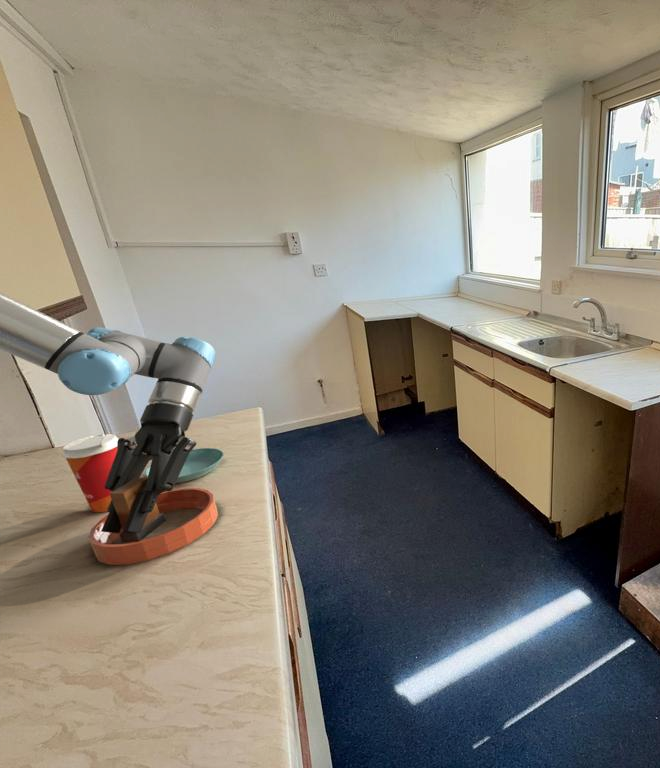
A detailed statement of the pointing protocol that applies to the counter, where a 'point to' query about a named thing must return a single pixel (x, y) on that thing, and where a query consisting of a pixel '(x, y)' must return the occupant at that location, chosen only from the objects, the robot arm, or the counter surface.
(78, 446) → the coffee cup
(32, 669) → the counter surface
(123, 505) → the eraser
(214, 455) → the saucer
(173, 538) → the bowl
